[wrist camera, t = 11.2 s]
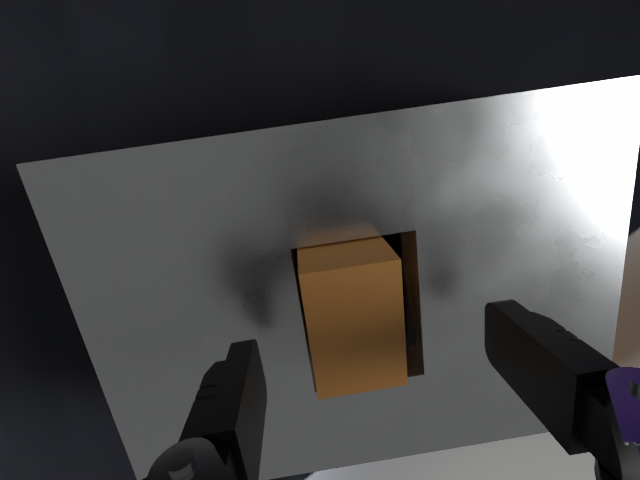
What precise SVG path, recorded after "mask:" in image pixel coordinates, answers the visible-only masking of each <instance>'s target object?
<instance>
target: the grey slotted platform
mask: <svg viewBox="0 0 640 480" xmlns="http://www.w3.org/2000/svg"><path fill="white" fill-rule="evenodd" d="M639 142H640V75H639V76H632V77H625V78H618V79H611V80H604V81H597V82H590V83H583V84H576V85H569V86H562V87H555V88H548V89H541V90H534V91H527V92H520V93H513V94H506V95H498V96H491V97H484V98H477V99H470V100H463V101H456V102H449V103H442V104H435V105H428V106H421V107H414V108H407V109H400V110H393V111H386V112H379V113H372V114H365V115H358V116H351V117H344V118H337V119H330V120H323V121H316V122H309V123H302V124H295V125H288V126H281V127H274V128H267V129H260V130H253V131H246V132H239V133H232V134H225V135H218V136H211V137H204V138H197V139H190V140H183V141H176V142H169V143H162V144H155V145H147V146H140V147H133V148H126V149H119V150H112V151H105V152H98V153H91V154H84V155H77V156H70V157H63V158H56V159H49V160H42V161H35V162H28V163H21V164H16V166H17V169H18V171H19V174H20V177H21V179H22V182H23V184H24V187H25V190H26V192H27V195H28V197H29V200H30V203H31V205H32V208H33V210H34V213H35V216H36V218H37V221H38V223H39V226H40V229H41V231H42V234H43V236H44V239H45V241H46V244H47V247H48V249H49V252H50V254H51V257H52V260H53V262H54V265H55V267H56V270H57V273H58V275H59V278H60V280H61V283H62V286H63V288H64V291H65V293H66V296H67V299H68V301H69V304H70V306H71V309H72V312H73V314H74V317H75V319H76V322H77V325H78V327H79V330H80V332H81V335H82V338H83V340H84V343H85V345H86V348H87V351H88V353H89V356H90V358H91V361H92V364H93V366H94V369H95V371H96V374H97V377H98V379H99V382H100V384H101V387H102V390H103V392H104V395H105V397H106V400H107V403H108V405H109V408H110V410H111V413H112V415H113V418H114V421H115V423H116V426H117V428H118V431H119V434H120V436H121V439H122V441H123V444H124V447H125V449H126V452H127V454H128V457H129V460H130V462H131V465H132V467H133V470H134V473H135V475H136V478H137V480H142V479H144V478H146V477H147V476H148V472H149V470H150V468H151V466H152V465H153V463H154V462H155V460H156V459H157V458H158V457H159V456H160V455H161V454H162V453H163V452H164V451H165V450H167V449H168V448H169V447H171V446H172V445H174V444H176V443H178V441H179V438H180V436H181V433H182V431H183V428H184V425H185V423H186V420H187V418H188V415H189V412H190V410H191V407H192V405H193V402H194V401H195V397H196V394H197V392H198V390H199V387H200V384H201V381H202V379H203V376H204V374H205V373H206V372H207V371H208V369H209V368H210V367H211V366H212V365H213V364H214V363H215V362H217V361H224V360H226V357H227V354H228V351H229V348H230V345H231V343H233V342H239V341H245V340H252V339H256V341H257V344H258V348H259V352H260V357H261V362H262V366H263V371H264V375H265V380H266V387H267V405H266V415H265V424H264V433H263V442H262V451H261V461H260V470H259V479H258V480H268V479H274V478H280V477H286V476H292V475H297V474H303V473H309V472H315V471H321V470H327V469H333V468H339V467H345V466H351V465H357V464H362V463H368V462H374V461H380V460H386V459H392V458H398V457H403V456H410V455H415V454H421V453H426V452H433V451H439V450H445V449H451V448H457V447H463V446H469V445H474V444H481V443H486V442H492V441H498V440H504V439H510V438H516V437H522V436H528V435H533V434H539V433H545V432H549V431H548V430H547V429H546V427H545V426H544V425H543V424H542V423H541V422H540V421H539V419H538V418H537V417H536V416H535V415H534V414H533V412H532V411H531V410H530V409H529V408H528V407H527V405H526V404H525V403H524V402H523V401H522V400H521V399H520V397H519V396H518V395H517V394H516V393H515V392H514V390H513V389H512V388H511V387H510V386H509V385H508V384H507V382H506V381H505V380H504V379H503V378H502V377H501V375H500V374H499V373H498V372H497V371H496V370H495V369H494V367H493V366H492V365H491V363H490V362H489V360H488V358H487V355H486V351H485V344H484V325H485V305H486V304H487V303H489V302H495V301H501V300H508V299H513V300H515V301H517V302H518V303H519V304H521V305H522V306H523V307H525V308H526V309H527V310H529V311H530V312H536V313H538V314H541V315H543V316H546V317H548V318H551V319H553V320H554V321H555V322H557V323H558V324H560V325H561V326H563V327H564V328H565V329H566V331H570V332H571V333H572V334H574V335H575V336H577V337H578V339H581V340H582V341H584V342H585V343H587V344H588V345H590V346H591V347H592V348H594V349H595V350H597V351H598V352H599V353H601V354H602V355H604V356H605V357H607V358H608V359H609V360H611V361H612V356H613V348H614V341H615V333H616V325H617V316H618V309H619V301H620V293H621V285H622V277H623V269H624V261H625V253H626V245H627V238H628V230H629V222H630V214H631V206H632V198H633V190H634V182H635V174H636V166H637V158H638V150H639ZM394 233H401V247H402V261H403V275H404V288H405V302H406V316H407V330H408V344H409V346H406V357H407V375H408V385H405V386H399V387H393V388H387V389H381V390H374V391H368V392H362V393H356V394H350V395H344V396H338V397H331V398H325V399H319V400H318V395H317V388H316V382H315V376H314V370H313V363H312V357H311V351H310V344H309V338H308V332H307V326H306V319H305V313H304V308H303V302H302V296H301V290H300V284H299V278H298V272H297V266H296V260H295V254H294V249H295V248H301V247H308V246H315V245H321V244H328V243H334V242H341V241H348V240H354V239H361V238H367V237H374V236H380V235H387V234H394Z"/></svg>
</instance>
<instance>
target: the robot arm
mask: <svg viewBox="0 0 640 480" xmlns="http://www.w3.org/2000/svg"><path fill="white" fill-rule="evenodd" d="M484 344H485V351H486V355H487V358H488V360H489V362H490V363H491V365H492V366H493V367H494V369H495V370H496V371H497V372H498V373H499V374H500V375H501V377H502V378H503V379H504V380H505V381H506V382H507V384H508V385H509V386H510V387H511V388H512V389H513V390H514V392H515V393H516V394H517V395H518V396H519V397H520V399H521V400H522V401H523V402H524V403H525V404H526V405H527V407H528V408H529V409H530V410H531V411H532V412H533V414H534V415H535V416H536V417H537V418H538V419H539V421H540V422H541V423H542V424H543V425H544V426H545V427H546V429H547V430H548V431H549V432H550V433H551V434H552V435H553V437H554V438H555V439H556V440H557V441H558V442H559V444H560V445H561V446H562V447H563V448H564V449H565V450H566V452H567V453H568V454H569V455H574V454H580V453H586V452H590V453H591V454H592V455H593V456H594V457H595V466H594V470H595V476H596V480H640V368H633V367H619V366H618V365H617V364H615V363H614V362H612V361H611V360H609V359H608V358H607V357H605V356H604V355H602V354H601V353H599V352H598V351H597V350H595V349H594V348H592V347H591V346H590V345H588V344H587V343H585V342H584V341H582V340H581V339H578V337H577V336H575V335H574V334H572V333H571V332H570V331H566V329H565V328H564V327H563V326H561V325H560V324H558V323H557V322H555V321H554V320H553V319H551V318H548V317H546V316H543V315H541V314H538V313H536V312H530V311H529V310H527V309H526V308H525V307H523V306H522V305H521V304H519V303H518V302H517V301H515V300H513V299H508V300H501V301H495V302H489V303H487V304H486V305H485V325H484ZM266 405H267V387H266V380H265V375H264V371H263V366H262V362H261V357H260V352H259V348H258V344H257V341H256V339H252V340H245V341H239V342H233V343H231V345H230V348H229V351H228V354H227V357H226V360H224V361H217V362H215V363H214V364H213V365H212V366H211V367H210V368H209V369H208V371H207V372H206V373H205V374H204V376H203V379H202V381H201V384H200V387H199V390H198V392H197V394H196V397H195V401H194V402H193V405H192V407H191V410H190V412H189V415H188V418H187V420H186V423H185V425H184V428H183V431H182V433H181V436H180V438H179V441H178V443H176V444H174V445H172V446H171V447H169V448H168V449H167V450H165V451H164V452H163V453H162V454H161V455H160V456H159V457H158V458H157V459H156V460H155V462H154V463H153V465H152V466H151V468H150V470H149V472H148V476H147V477H146V478H144V479H142V480H258V479H259V470H260V461H261V451H262V442H263V433H264V424H265V415H266Z"/></svg>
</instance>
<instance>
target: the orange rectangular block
mask: <svg viewBox="0 0 640 480" xmlns="http://www.w3.org/2000/svg"><path fill="white" fill-rule="evenodd" d="M297 257H298V275H299V282H300V288H301V294H302V301H303V307H304V313H305V319H306V326H307V332H308V338H309V344H310V351H311V357H312V363H313V370H314V376H315V382H316V388H317V395H318V400H319V399H325V398H331V397H338V396H344V395H350V394H356V393H362V392H368V391H374V390H381V389H387V388H393V387H399V386H405V385H408V375H407V357H406V339H405V321H404V303H403V284H402V266H401V259H400V258H399V256H398V255H397V254H396V253H395V252H394V250H393V249H392V248H391V247H390V246H389V244H388V243H387V242H386V241H385V240H384V238H383V237H382V236H381V235H380V236H374V237H367V238H361V239H354V240H348V241H341V242H334V243H328V244H321V245H315V246H308V247H301V248H297Z"/></svg>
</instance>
